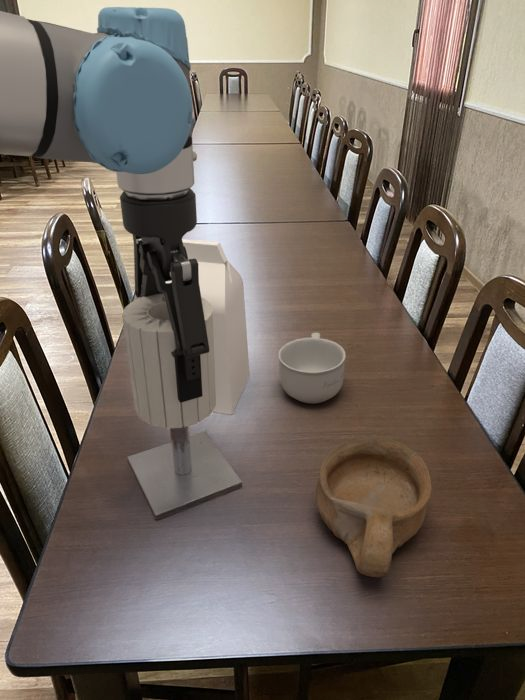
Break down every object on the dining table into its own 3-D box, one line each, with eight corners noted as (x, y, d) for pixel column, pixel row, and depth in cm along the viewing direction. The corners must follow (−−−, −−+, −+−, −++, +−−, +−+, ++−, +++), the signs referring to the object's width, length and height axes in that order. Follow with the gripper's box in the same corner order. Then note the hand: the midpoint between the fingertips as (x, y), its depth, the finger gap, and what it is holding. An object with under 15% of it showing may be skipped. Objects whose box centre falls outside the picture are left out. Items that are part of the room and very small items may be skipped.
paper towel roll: (150, 438, 62) (138, 340, 55) (125, 393, 69) (112, 302, 62) (229, 413, 66) (227, 319, 59) (197, 373, 73) (192, 286, 67)
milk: (161, 404, 87) (144, 252, 74) (185, 366, 97) (174, 226, 84) (232, 414, 85) (227, 260, 72) (249, 375, 95) (248, 232, 81)
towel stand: (156, 520, 67) (145, 437, 60) (128, 461, 76) (115, 383, 69) (242, 487, 72) (241, 406, 65) (206, 435, 81) (201, 359, 74)
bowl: (470, 584, 58) (463, 525, 53) (343, 615, 59) (324, 560, 54) (416, 467, 73) (407, 412, 68) (316, 493, 74) (300, 441, 69)
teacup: (332, 418, 85) (336, 376, 80) (268, 403, 88) (268, 362, 84) (352, 373, 96) (356, 334, 92) (294, 361, 99) (296, 323, 95)
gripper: (242, 214, 47) (243, 416, 58) (155, 164, 64) (170, 328, 75) (160, 226, 44) (178, 438, 55) (92, 170, 61) (117, 340, 72)
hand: (173, 374), depth 65 cm, fingers closed on paper towel roll, 10 cm apart
